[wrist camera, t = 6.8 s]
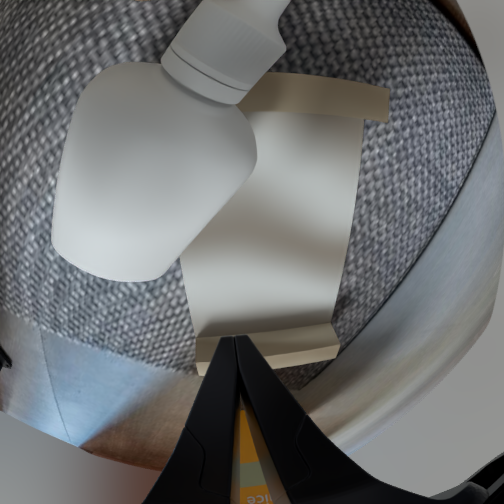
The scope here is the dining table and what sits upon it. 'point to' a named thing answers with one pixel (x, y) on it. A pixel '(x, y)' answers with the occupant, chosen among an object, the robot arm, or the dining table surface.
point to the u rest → (284, 222)
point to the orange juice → (251, 469)
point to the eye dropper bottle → (163, 143)
